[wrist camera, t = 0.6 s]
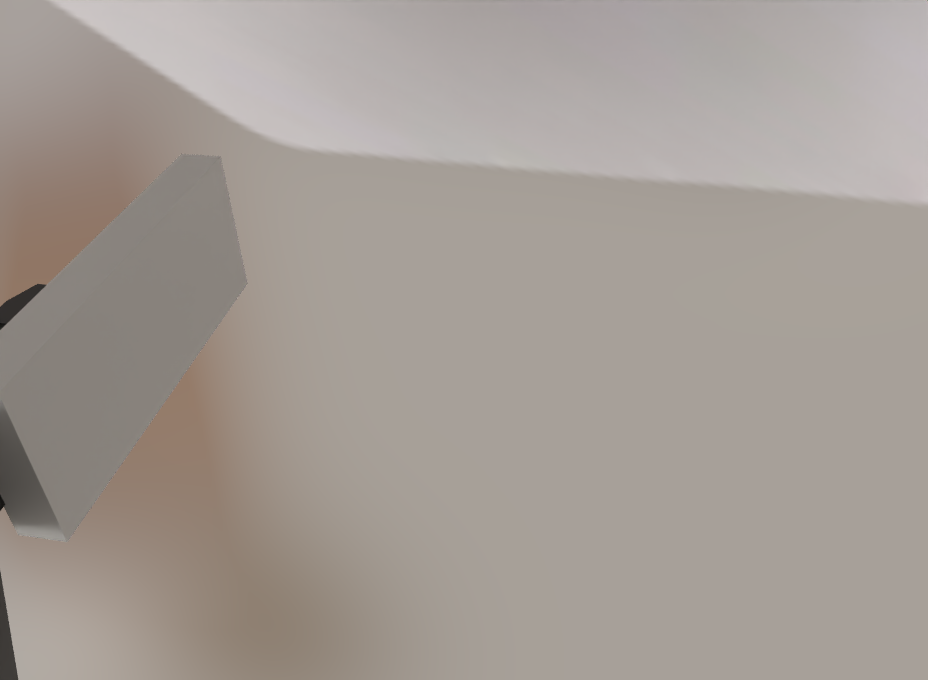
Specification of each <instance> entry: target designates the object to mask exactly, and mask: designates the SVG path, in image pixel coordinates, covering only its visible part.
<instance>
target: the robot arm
mask: <svg viewBox="0 0 928 680" xmlns="http://www.w3.org/2000/svg"><path fill="white" fill-rule="evenodd" d="M246 285H247V279H246V274H245V269H244V265H243V260H242V255H241V250H240V246H239V241H238V236H237V231H236V227H235V222H234V218H233V213H232V208H231V203H230V198H229V193H228V189H227V184H226V179H225V175H224V170H223V165H222V160H221V157H220V156H204V155H188V154H181V155H180V156H179V157H178V158H177V159H176V160H175V161H174V162H173V163H172V164H171V165H170V166H169V167H168V168H167V169H166V170H165V171H164V172H163V173H162V174H160V175H159V176H158V177H157V178H156V179H155V180H154V181H153V182H152V183H151V184H150V185H149V186H148V187H147V188H146V189H145V190H144V191H143V192H142V193H141V194H140V195H139V196H138V197H137V198H136V199H135V200H134V201H133V202H132V203H131V204H130V205H129V206H128V207H127V208H125V209H124V210H123V211H122V212H121V213H120V214H119V215H118V216H117V217H116V218H115V219H114V220H113V221H112V222H111V223H110V224H109V225H108V226H107V227H106V228H105V229H104V230H103V231H102V232H101V233H100V234H99V235H98V236H97V237H96V238H95V239H94V240H93V241H92V242H91V243H89V245H87V246H86V247H85V248H84V249H83V250H82V251H81V252H80V253H79V254H78V255H77V256H76V257H75V258H74V259H73V260H72V261H71V262H70V263H69V264H68V265H67V266H66V267H65V268H64V269H63V270H62V271H61V272H60V273H59V274H58V275H57V276H56V277H55V278H53V279H52V281H50V282H49V283H48V284H47V285H42V284H37V285H35V286H33V287H31V288H29V289H28V290H26V291H24V292H22V293H20V294H19V295H17V296H15V297H13V298H11V299H9V300H8V301H6V302H5V303H4V304H3V305H2V306H1V307H0V510H1V509H2V508H3V507H4V508H5V510H6V512H7V514H8V516H9V518H10V520H11V522H12V523H13V525H14V527H15V529H16V531H17V533H18V535H23V536H30V537H37V538H44V539H51V540H58V541H64V542H67V541H68V540H69V539H70V537H71V536H72V535H73V533H74V532H75V530H76V529H77V527H78V526H79V524H80V523H81V521H82V520H83V519H84V517H85V516H86V514H87V513H88V511H89V510H90V509H91V507H92V506H93V504H94V503H95V501H96V500H97V498H98V497H99V496H100V494H101V493H102V491H103V490H104V489H105V487H106V486H107V484H108V483H109V481H110V480H111V479H112V477H113V476H114V474H115V473H116V471H117V470H118V468H119V467H120V466H121V464H122V463H123V461H124V460H125V458H126V457H127V456H128V454H129V453H130V451H131V450H132V448H133V447H134V446H135V444H136V442H137V441H138V440H139V438H140V437H141V436H142V434H143V433H144V431H145V430H146V428H147V427H148V425H149V424H150V423H151V421H152V420H153V418H154V417H155V415H156V414H157V413H158V411H159V410H160V408H161V407H162V405H163V404H164V402H165V401H166V400H167V398H168V397H169V395H170V394H171V393H172V391H173V390H174V388H175V387H176V385H177V384H178V382H179V381H180V379H181V378H182V377H183V375H184V374H185V372H186V371H187V370H188V368H189V366H190V365H191V364H192V362H193V361H194V359H195V358H196V357H197V355H198V354H199V352H200V351H201V350H202V348H203V346H204V345H205V344H206V342H207V341H208V339H209V338H210V337H211V335H212V334H213V332H214V331H215V329H216V328H217V327H218V325H219V324H220V322H221V321H222V319H223V318H224V317H225V315H226V314H227V312H228V311H229V309H230V308H231V306H232V305H233V304H234V302H235V301H236V299H237V297H238V296H239V295H240V294H241V292H242V291H243V289H244V288H245V286H246ZM0 680H18V675H17V669H16V663H15V657H14V651H13V646H12V640H11V633H10V627H9V621H8V615H7V609H6V603H5V597H4V591H3V585H2V579H1V573H0Z"/></svg>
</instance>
